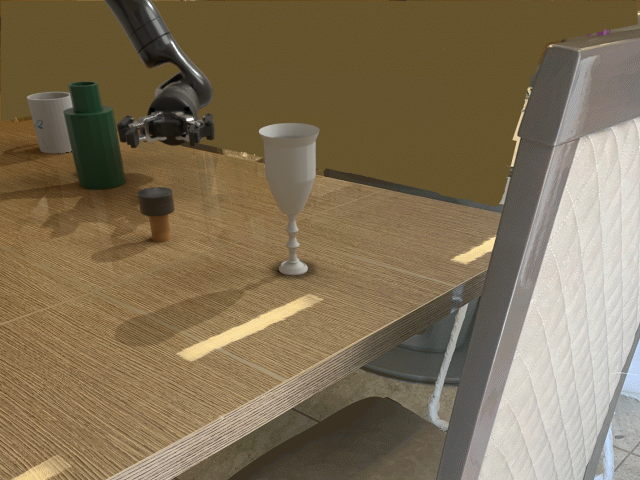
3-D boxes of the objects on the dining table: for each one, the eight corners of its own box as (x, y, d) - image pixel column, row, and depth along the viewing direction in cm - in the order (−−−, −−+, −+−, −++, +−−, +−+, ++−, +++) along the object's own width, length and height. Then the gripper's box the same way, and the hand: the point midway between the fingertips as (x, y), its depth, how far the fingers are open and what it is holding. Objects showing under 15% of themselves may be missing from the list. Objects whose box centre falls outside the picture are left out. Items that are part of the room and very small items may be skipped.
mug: (83, 151, 133) (72, 98, 127) (39, 155, 131) (26, 101, 125) (81, 137, 143) (70, 87, 137) (40, 141, 140) (27, 90, 134)
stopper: (144, 256, 89) (134, 198, 84) (149, 243, 92) (140, 187, 88) (178, 255, 89) (170, 197, 84) (181, 243, 93) (173, 186, 88)
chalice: (275, 267, 86) (268, 121, 75) (325, 271, 85) (325, 124, 74) (260, 291, 80) (250, 136, 69) (313, 295, 79) (312, 140, 68)
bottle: (75, 189, 113) (52, 88, 103) (85, 176, 119) (64, 80, 109) (121, 188, 113) (102, 87, 104) (128, 175, 120) (111, 79, 110)
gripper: (126, 90, 103) (106, 113, 90) (215, 88, 103) (208, 110, 91) (134, 140, 107) (117, 168, 94) (220, 138, 108) (214, 165, 95)
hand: (162, 140), depth 93 cm, fingers open, 8 cm apart
